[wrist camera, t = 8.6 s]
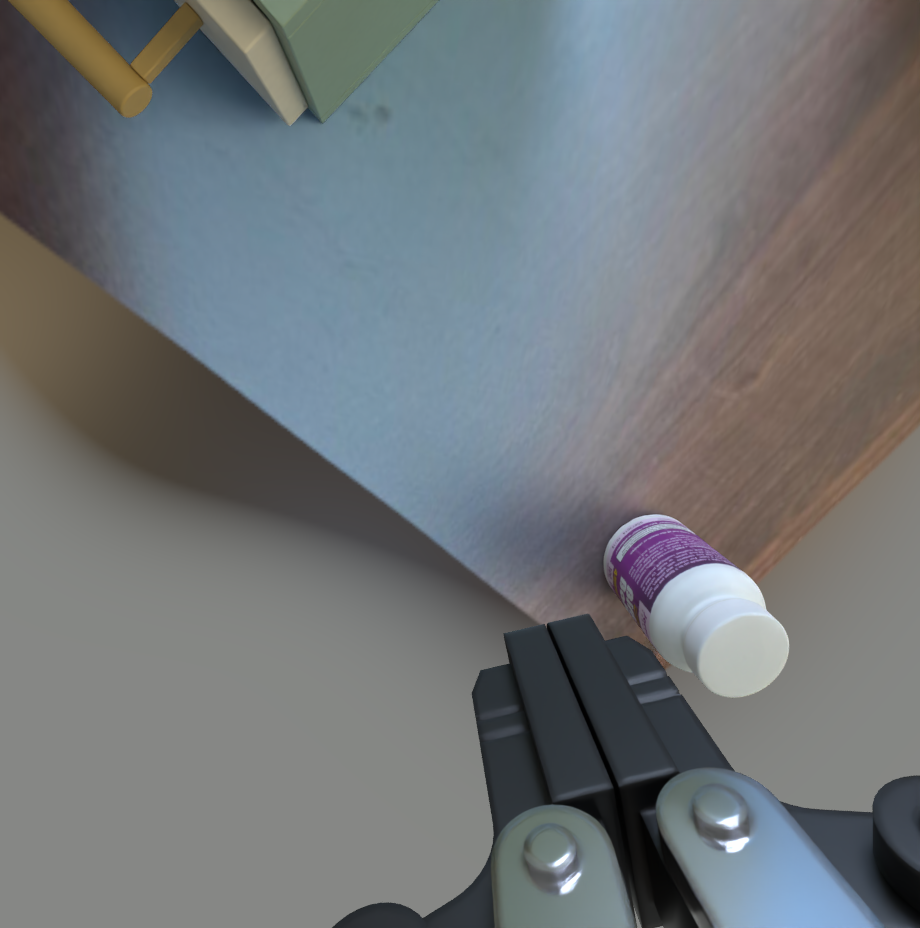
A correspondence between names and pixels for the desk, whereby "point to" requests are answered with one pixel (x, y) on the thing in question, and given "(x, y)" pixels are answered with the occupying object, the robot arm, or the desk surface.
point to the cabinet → (338, 42)
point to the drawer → (172, 51)
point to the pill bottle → (695, 606)
